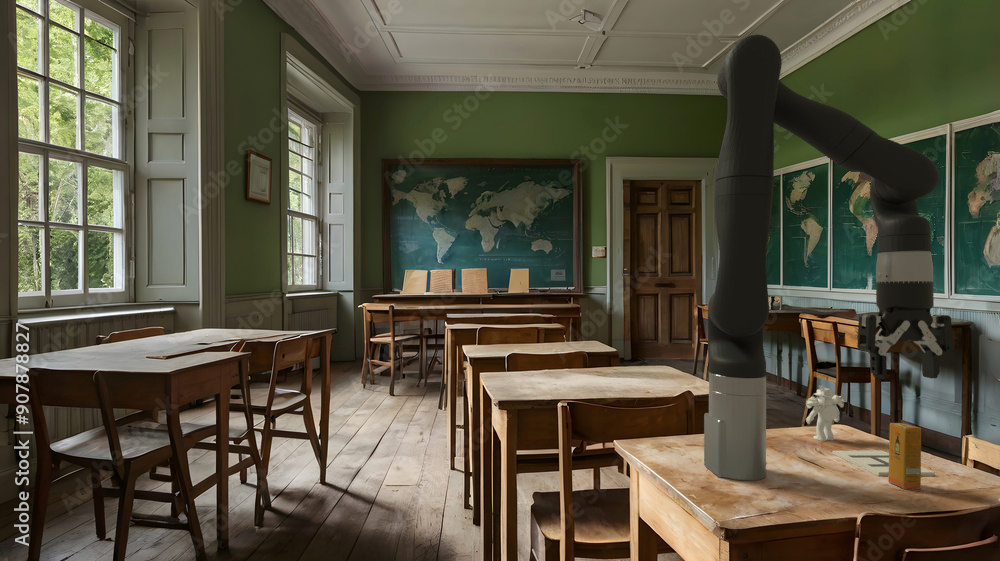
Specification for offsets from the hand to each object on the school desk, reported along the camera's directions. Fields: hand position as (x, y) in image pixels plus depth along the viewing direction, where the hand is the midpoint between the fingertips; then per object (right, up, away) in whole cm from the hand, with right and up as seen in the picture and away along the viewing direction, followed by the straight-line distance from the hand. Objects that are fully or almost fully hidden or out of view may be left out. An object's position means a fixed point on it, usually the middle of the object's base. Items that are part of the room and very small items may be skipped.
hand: (904, 377), depth 86 cm
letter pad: (+4, -18, +10) cm, 21 cm away
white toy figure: (+3, -19, +26) cm, 32 cm away
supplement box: (0, -18, 0) cm, 18 cm away
